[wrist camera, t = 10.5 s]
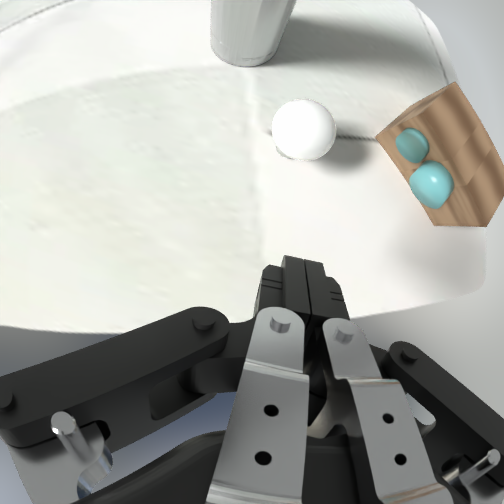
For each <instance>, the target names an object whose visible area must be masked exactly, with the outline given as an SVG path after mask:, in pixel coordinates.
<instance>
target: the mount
mask: <svg viewBox="0 0 504 504" xmlns="http://www.w3.org/2000/svg"><path fill="white" fill-rule="evenodd" d="M375 138H376V139H377V140H378V142H379V143H380V144H381V146H382V147H383V148H384V150H385V151H386V152H387V154H388V155H389V156H390V158H391V159H392V161H393V162H394V163H395V165H396V166H397V168H398V169H399V171H400V172H401V173H402V175H403V176H404V178H405V179H406V181H407V182H408V184H409V179H410V177H411V175H412V174H413V173H414V172H415V171H416V170H417V169H418V168H419V167H420V166H421V164H422V163H423V162H424V161H426V160H433V161H436V162H438V163H439V162H441V164H442V165H443V166H444V167H445V168H446V169H447V170H448V171H449V173H450V174H451V176H452V178H453V181H454V190H453V192H452V193H451V194H450V196H449V197H448V198H447V200H446V201H445V202H444V203H443V205H442V206H441V207H440V208H438V209H433V208H430V207H427V206H426V205H424V204H423V203H421V202H420V203H421V204H422V206H423V208H424V209H425V211H426V213H427V214H428V216H429V218H430V220H431V221H432V223H433V225H434V226H474V227H487V225H488V223H489V222H490V220H491V218H492V217H493V215H494V213H495V211H496V210H497V208H498V206H499V204H500V202H501V201H502V199H503V197H504V165H503V163H502V161H501V159H500V157H499V154H498V152H497V150H496V149H495V146H494V145H493V143H492V141H491V139H490V137H489V135H488V133H487V131H486V130H485V128H484V126H483V124H482V123H481V121H480V119H479V118H478V116H477V114H476V112H475V111H474V109H473V108H472V106H471V104H470V103H469V101H468V100H467V98H466V97H465V95H464V94H463V92H462V91H461V89H460V88H459V86H458V85H457V83H456V82H453V83H451V84H450V85H448V86H446V87H444V88H442V89H440V90H438V91H436V92H435V93H433V94H431V95H429V96H427V97H426V98H424V99H422V100H420V101H418V102H416V103H415V104H413V105H411V106H410V107H409V108H407V109H406V110H405V111H404V112H403V113H402V114H401V115H399V116H398V117H397V118H396V119H395V120H394V121H393V122H391V123H390V124H389V125H388V126H387V127H386V128H385V129H384V130H382V131H381V132H380V133H379V134H378V135H377V136H376V137H375ZM409 185H410V184H409Z"/></svg>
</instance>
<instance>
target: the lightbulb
mask: <svg viewBox="0 0 504 504" xmlns="http://www.w3.org/2000/svg"><path fill="white" fill-rule="evenodd" d="M272 135H273V139H274V141H275V143H276V149H277V152H278V153H279V154H280V155H281V156H282V157H284V158H293V159H296V160H300V161H310V160H314V159H317V158H320V157H322V156H323V155H325V154H326V153H327V152H328V151H329V150H330V148H331V147H332V145H333V143H334V141H335V138H336V124H335V120H334V118H333V116H332V114H331V113H330V111H329V110H328V109H327V108H326V107H325V106H323V105H322V104H320V103H319V102H317V101H314V100H311V99H295V100H292V101H289V102H287V103H286V104H284V105H283V106H282V107H281V108H280V109H279V110H278V111H277V113H276V114H275V116H274V119H273V122H272Z"/></svg>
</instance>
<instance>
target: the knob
mask: <svg viewBox="0 0 504 504" xmlns="http://www.w3.org/2000/svg"><path fill="white" fill-rule="evenodd" d="M409 184H410V188H411V190H412V192H413V194H414V195H415V196H416V198H417V199H418V200H419V201H420V202H421V203H423V204H424V205H426V206H427V207H430V208H433V209H438V208H440V207H441V206H442V205H443V203H444V202H445V201H446V200H447V198H448V197H449V196H450V194H451V193H452V192H453V190H454V181H453V178H452V176H451V174H450V173H449V171H448V170H447V169H446V168H445V167H444V166H443V165H442V164H441V162H439V163H438V162H436V161H433V160H426V161H424V162H423V163H422V164H421V166H420V167H419V168H418V169H417V170H416V171H415V172H414V173H413V174H412V175H411V177H410V179H409Z"/></svg>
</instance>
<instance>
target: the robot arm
mask: <svg viewBox="0 0 504 504" xmlns="http://www.w3.org/2000/svg"><path fill="white" fill-rule="evenodd" d="M296 1H297V0H211V47H212V49H213V52H214V53H215V54H216V55H217V56H218V57H219V58H220V59H221V60H223V61H225V62H227V63H229V64H232V65H236V66H242V67H250V66H257V65H260V64H263V63H265V62H267V61H268V60H270V59H271V58H272V57H273V56H274V54H275V53H276V50H277V48H278V45H279V43H280V40H281V38H282V35H283V33H284V30H285V28H286V26H287V23H288V21H289V18H290V16H291V13H292V11H293V8H294V6H295V4H296ZM224 392H237V393H236V397H235V401H234V404H233V408H232V412H231V415H230V419H229V423H228V426H227V430H223V431H215V432H210V433H205V434H202V435H199V436H196V437H194V438H191V439H189V440H187V441H185V442H183V443H182V444H180V445H178V446H177V447H175V448H173V449H172V450H171V451H169V452H167V453H166V454H164V455H162V456H161V457H159V458H157V459H156V460H154V461H152V462H151V463H149V464H147V465H146V466H144V467H142V468H140V469H138V470H137V471H135V472H133V473H132V474H130V475H128V476H126V477H124V478H122V479H120V480H118V481H116V482H115V483H113V484H111V485H109V486H107V487H105V488H103V489H101V490H99V491H97V492H95V493H92V494H91V492H92V489H93V488H94V486H95V485H96V484H97V483H98V482H99V481H101V480H102V479H104V478H105V477H106V476H107V475H108V474H109V473H110V471H111V469H112V465H113V458H112V454H111V453H113V452H115V451H117V450H119V449H121V448H123V447H125V446H127V445H129V444H132V443H134V442H135V441H137V440H139V439H141V438H143V437H145V436H147V435H149V434H151V433H153V432H155V431H157V430H159V429H160V428H162V427H164V426H166V425H168V424H170V423H171V422H173V421H175V420H177V419H179V418H180V417H182V416H184V415H186V414H187V413H189V412H191V411H192V410H194V409H196V408H198V407H199V406H201V405H203V404H204V403H206V402H208V401H209V400H211V399H212V398H214V396H215V395H216V394H217V393H224ZM407 393H409V394H410V395H411V396H412V397H413V398H415V400H417V401H418V402H419V403H420V404H421V405H422V406H424V407H425V408H426V409H427V410H428V411H429V412H430V413H431V414H433V415H434V417H435V419H436V421H435V422H434V423H433V424H432V425H424V424H422V423H421V422H419V421H418V420H417V419H416V418H415V417H414V416H413V413H412V411H411V408H410V406H409V403H408V401H407V398H406V394H407ZM0 438H1V440H2V441H3V442H4V443H5V444H6V445H7V446H8V449H9V451H10V454H11V456H12V459H13V461H14V464H15V466H16V469H17V471H18V473H19V476H20V478H21V480H22V482H23V485H24V486H25V489H26V491H27V493H28V495H29V497H30V499H31V501H32V503H33V504H501V503H502V501H503V499H504V419H503V418H502V417H501V416H500V415H498V414H497V413H496V412H495V411H494V410H493V409H491V408H490V407H489V406H488V405H487V404H485V403H484V402H483V401H482V400H481V399H479V398H478V397H477V396H476V395H475V394H474V393H472V392H471V391H470V390H469V389H467V388H466V387H465V386H464V385H463V384H462V383H460V382H459V381H458V380H457V379H456V378H454V377H453V376H452V375H451V374H449V373H448V372H447V371H445V370H444V369H443V368H442V367H441V366H440V365H438V364H437V363H436V362H435V361H433V360H432V359H431V358H430V357H429V356H427V355H426V354H425V353H423V352H422V351H421V350H420V349H418V348H417V347H416V346H414V345H412V344H410V343H407V342H403V341H398V342H394V343H393V344H392V345H391V346H390V348H389V350H388V351H386V350H383V349H381V348H378V347H375V346H373V345H370V344H369V343H368V341H367V338H366V336H365V334H364V332H363V330H362V329H361V328H360V327H359V326H358V325H356V324H355V323H353V322H351V321H350V318H349V315H348V311H347V308H346V304H345V302H344V298H343V295H342V291H341V288H340V285H339V284H338V283H337V282H336V281H335V280H334V279H333V278H332V277H327V276H326V275H325V271H324V267H323V263H320V262H315V261H311V260H306V259H304V260H303V259H301V258H296V257H292V256H287V255H284V257H283V260H282V264H281V267H278V266H274V265H268V266H267V267H266V268H265V269H264V270H263V272H262V276H261V280H260V284H259V289H258V293H257V297H256V301H255V307H254V314H253V318H252V319H250V320H248V321H246V322H241V323H229V321H228V319H227V318H226V316H225V315H224V314H222V313H221V312H219V311H217V310H215V309H212V308H208V307H192V308H189V309H186V310H184V311H181V312H178V313H176V314H173V315H171V316H168V317H166V318H163V319H160V320H158V321H155V322H153V323H150V324H147V325H145V326H142V327H140V328H137V329H134V330H132V331H129V332H126V333H124V334H121V335H118V336H116V337H113V338H110V339H108V340H105V341H102V342H99V343H97V344H94V345H91V346H88V347H86V348H83V349H80V350H77V351H75V352H72V353H69V354H66V355H64V356H61V357H57V358H55V359H52V360H49V361H46V362H43V363H40V364H37V365H34V366H31V367H28V368H25V369H22V370H19V371H16V372H13V373H10V374H7V375H4V376H1V377H0Z"/></svg>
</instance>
